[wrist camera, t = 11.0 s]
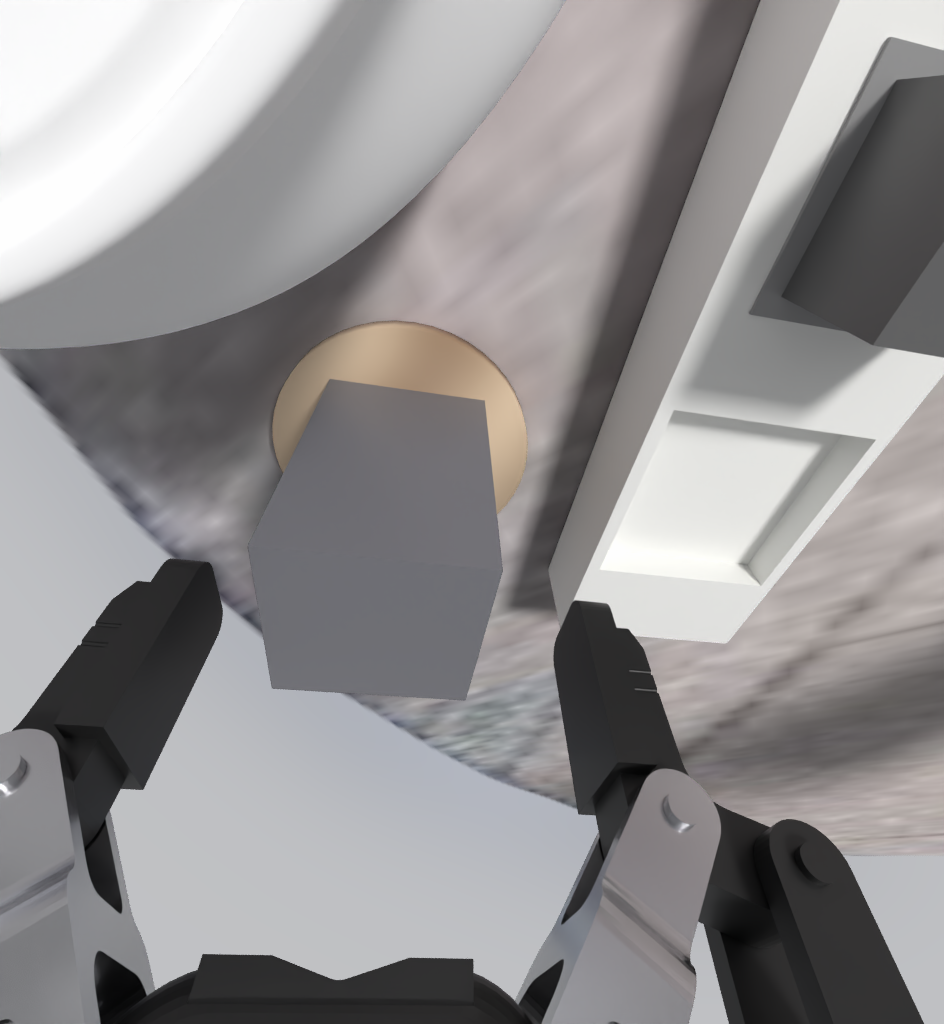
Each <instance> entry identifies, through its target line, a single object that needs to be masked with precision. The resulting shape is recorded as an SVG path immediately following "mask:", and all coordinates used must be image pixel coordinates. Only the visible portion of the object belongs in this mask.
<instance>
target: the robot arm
mask: <svg viewBox="0 0 944 1024" xmlns="http://www.w3.org/2000/svg"><path fill="white" fill-rule="evenodd" d="M222 615H223V610H222V604H221V600H220V596H219V592H218V588H217V584H216V580H215V576H214V572H213V568H212V566H211V564H210V563H209V562H201V561H191V560H181V559H168V560H167V561H166V562H164V564H163V565H162V566H161V568H160V569H159V571H158V572H157V573H156V575H155V576H154V578H153V579H152V581H151V582H142V581H137V582H135V583H134V584H133V585H131V586H130V587H129V588H127V589H126V590H124V591H123V592H122V593H120V594H119V595H118V596H116V597H115V598H113V599H112V600H111V602H110V603H109V605H108V606H107V607H106V609H105V610H104V611H103V613H102V614H101V615H100V617H99V618H98V619H97V621H96V625H95V626H93V627H91V629H90V630H89V631H88V633H87V634H86V636H85V637H84V638H83V640H82V644H81V645H78V646H77V648H76V649H75V650H74V652H73V653H72V654H71V656H70V657H69V658H68V660H67V661H66V663H65V664H64V665H63V666H62V668H61V669H60V670H59V672H58V673H57V674H56V676H55V677H54V678H53V680H52V681H51V683H50V684H49V685H48V687H47V688H46V689H45V691H44V692H43V693H42V695H41V696H40V697H39V699H38V700H37V702H36V703H35V704H34V706H33V707H32V708H31V709H30V711H29V712H28V714H27V715H26V716H25V717H24V719H23V720H22V721H21V722H20V723H19V724H18V726H16V727H15V728H14V729H13V730H12V731H11V732H7V733H4V734H1V735H0V1024H688V1023H689V1020H690V1015H691V1011H692V1007H693V1002H694V998H695V992H696V972H695V969H694V967H693V966H692V964H691V962H690V951H691V946H692V942H693V938H694V934H695V931H696V927H697V923H698V922H700V923H703V924H704V927H705V931H706V935H707V938H708V943H709V946H710V951H711V954H712V958H713V962H714V966H715V970H716V974H717V978H718V982H719V986H720V990H721V994H722V998H723V1002H724V1006H725V1009H726V1013H727V1017H728V1021H729V1024H924V1023H923V1021H922V1019H921V1016H920V1014H919V1012H918V1010H917V1008H916V1006H915V1004H914V1002H913V999H912V997H911V995H910V993H909V991H908V989H907V987H906V985H905V982H904V980H903V978H902V976H901V974H900V972H899V970H898V968H897V965H896V963H895V961H894V959H893V957H892V955H891V953H890V951H889V949H888V946H887V944H886V942H885V940H884V938H883V936H882V934H881V932H880V929H879V927H878V925H877V923H876V921H875V919H874V917H873V915H872V913H871V911H870V908H869V906H868V904H867V902H866V900H865V898H864V896H863V894H862V891H861V889H860V887H859V885H858V883H857V881H856V879H855V877H854V875H853V872H852V870H851V868H850V867H849V865H848V863H847V861H846V860H845V858H844V857H843V855H842V854H841V852H840V851H839V850H838V849H837V847H836V846H835V845H834V844H833V843H832V842H831V841H830V840H829V839H828V838H827V837H826V836H825V835H823V834H822V833H821V832H820V831H818V830H817V829H815V828H814V827H812V826H810V825H808V824H807V823H804V822H801V821H798V820H793V819H786V820H781V821H780V822H778V823H776V824H775V825H773V826H772V827H768V826H766V825H763V824H761V823H758V822H756V821H754V820H751V819H749V818H746V817H744V816H742V815H739V814H737V813H734V812H732V811H730V810H727V809H725V808H723V807H721V806H719V805H718V804H716V803H715V802H713V801H712V799H711V798H710V796H709V795H708V793H707V792H706V791H705V790H704V788H703V787H702V786H701V785H700V784H699V783H698V782H696V781H695V780H694V779H693V778H691V777H689V775H688V774H687V772H686V770H685V768H684V766H683V763H682V761H681V758H680V755H679V752H678V749H677V746H676V743H675V740H674V737H673V734H672V731H671V728H670V725H669V722H668V720H667V717H666V714H665V711H664V708H663V705H662V702H661V699H660V696H659V694H658V693H657V687H656V684H655V681H654V678H653V675H651V673H650V672H651V669H650V667H649V664H648V661H647V658H646V655H645V652H644V649H643V647H642V646H641V645H640V644H639V642H638V641H637V640H636V638H635V637H634V636H633V634H632V633H631V632H630V630H629V629H626V628H616V624H615V621H614V618H613V614H612V611H611V608H610V606H609V605H608V604H607V603H599V602H589V601H579V600H574V601H573V602H572V604H571V606H570V608H569V610H568V613H567V615H566V617H565V620H564V622H563V624H562V627H561V629H560V631H559V634H558V636H557V638H556V641H555V646H554V668H555V674H556V680H557V687H558V693H559V699H560V705H561V711H562V717H563V723H564V729H565V735H566V741H567V748H568V754H569V760H570V766H571V772H572V778H573V784H574V790H575V796H576V802H577V809H578V814H582V815H596V819H597V825H598V830H599V833H598V834H597V836H596V838H595V840H594V842H593V844H592V846H591V849H590V851H589V853H588V855H587V857H586V859H585V861H584V864H583V866H582V868H581V870H580V872H579V875H578V876H577V879H576V881H575V883H574V885H573V888H572V890H571V892H570V894H569V896H568V898H567V900H566V902H565V904H564V907H563V909H562V911H561V913H560V915H559V917H558V919H557V921H556V924H555V925H554V927H553V929H552V931H551V933H550V934H549V936H548V937H547V939H546V940H545V942H544V944H543V945H542V947H541V949H540V951H539V952H538V954H537V956H536V958H535V960H534V962H533V964H532V966H531V968H530V970H529V972H528V974H527V976H526V978H525V980H524V983H523V985H522V987H521V989H520V991H519V993H518V995H517V997H516V1000H515V1001H514V1000H513V999H512V998H511V997H510V996H509V995H508V994H507V993H505V992H504V991H503V990H502V989H501V988H499V987H498V986H497V985H495V984H494V983H492V982H490V981H489V980H487V979H485V978H484V977H482V976H479V975H477V974H475V973H473V959H446V958H408V959H405V960H402V961H399V962H396V963H393V964H390V965H387V966H384V967H381V968H378V969H375V970H372V971H369V972H366V973H363V974H360V975H357V976H354V977H351V978H348V979H345V980H333V979H330V978H328V977H325V976H323V975H320V974H317V973H315V972H312V971H310V970H307V969H305V968H302V967H300V966H297V965H295V964H292V963H290V962H287V961H285V960H282V959H280V958H277V957H275V956H272V955H218V954H217V955H215V954H203V955H202V958H201V962H200V965H199V968H198V970H196V971H193V972H190V973H187V974H185V975H183V976H181V977H179V978H177V979H175V980H173V981H170V982H168V983H167V984H165V985H163V986H162V987H160V988H158V989H157V990H155V987H154V983H153V978H152V973H151V969H150V965H149V960H148V956H147V953H146V949H145V946H144V943H143V940H142V937H141V935H140V932H139V930H138V928H137V926H136V924H135V922H134V919H133V916H132V912H131V908H130V904H129V899H128V894H127V890H126V885H125V880H124V876H123V870H122V865H121V861H120V856H119V851H118V846H117V841H116V837H115V832H114V827H113V822H112V817H111V813H110V808H111V806H112V804H113V802H114V801H115V799H116V797H117V795H118V793H119V791H120V789H136V790H143V789H144V787H145V785H146V783H147V780H148V779H149V777H150V774H151V772H152V770H153V768H154V766H155V764H156V762H157V760H158V758H159V756H160V754H161V752H162V750H163V747H164V746H165V743H166V741H167V739H168V737H169V735H170V733H171V731H172V729H173V727H174V725H175V723H176V721H177V719H178V717H179V715H180V712H181V710H182V708H183V706H184V704H185V702H186V700H187V698H188V696H189V694H190V692H191V690H192V687H193V686H194V683H195V681H196V680H197V677H198V675H199V673H200V671H201V669H202V667H203V665H204V663H205V661H206V659H207V657H208V655H209V653H210V650H211V648H212V646H213V644H214V642H215V640H216V638H217V636H218V634H219V631H220V627H221V623H222Z"/></svg>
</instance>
